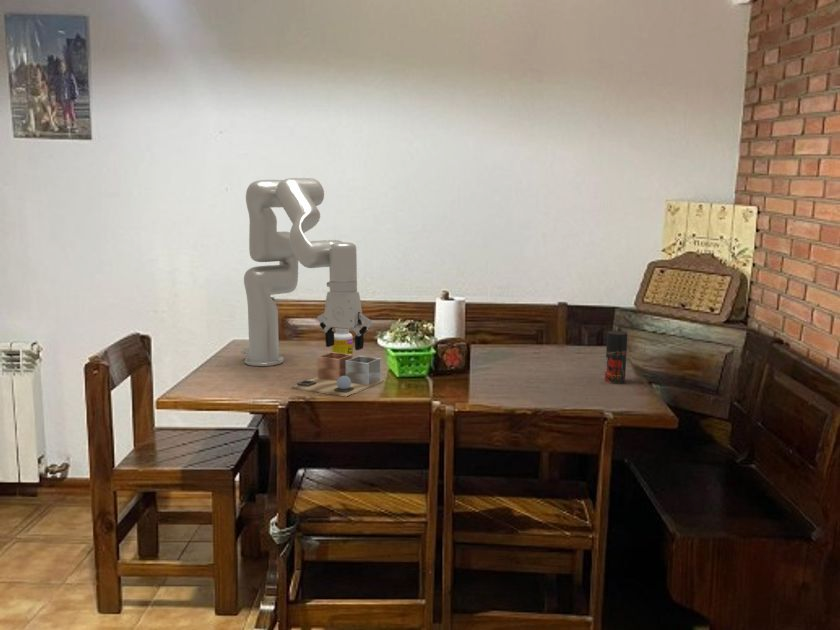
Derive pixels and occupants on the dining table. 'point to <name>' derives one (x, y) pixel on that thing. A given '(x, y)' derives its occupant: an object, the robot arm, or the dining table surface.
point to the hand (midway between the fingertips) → (344, 347)
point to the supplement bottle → (343, 341)
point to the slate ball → (344, 382)
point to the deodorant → (616, 357)
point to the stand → (343, 374)
